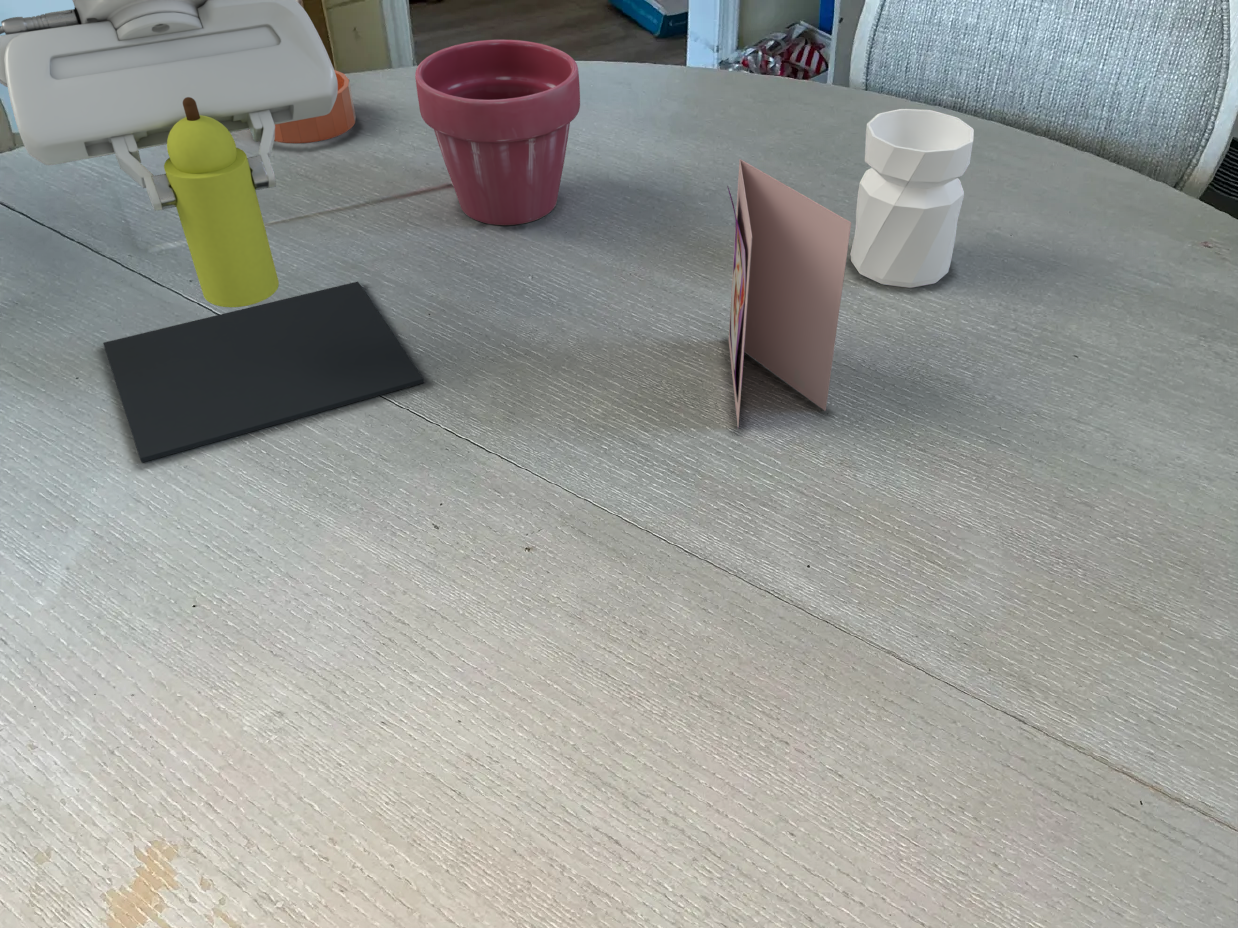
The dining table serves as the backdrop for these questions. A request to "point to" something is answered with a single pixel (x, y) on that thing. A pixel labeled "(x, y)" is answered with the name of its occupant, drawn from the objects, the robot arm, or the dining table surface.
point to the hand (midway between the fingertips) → (217, 196)
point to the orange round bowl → (322, 119)
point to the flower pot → (501, 124)
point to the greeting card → (785, 284)
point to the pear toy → (219, 211)
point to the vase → (910, 196)
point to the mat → (255, 369)
